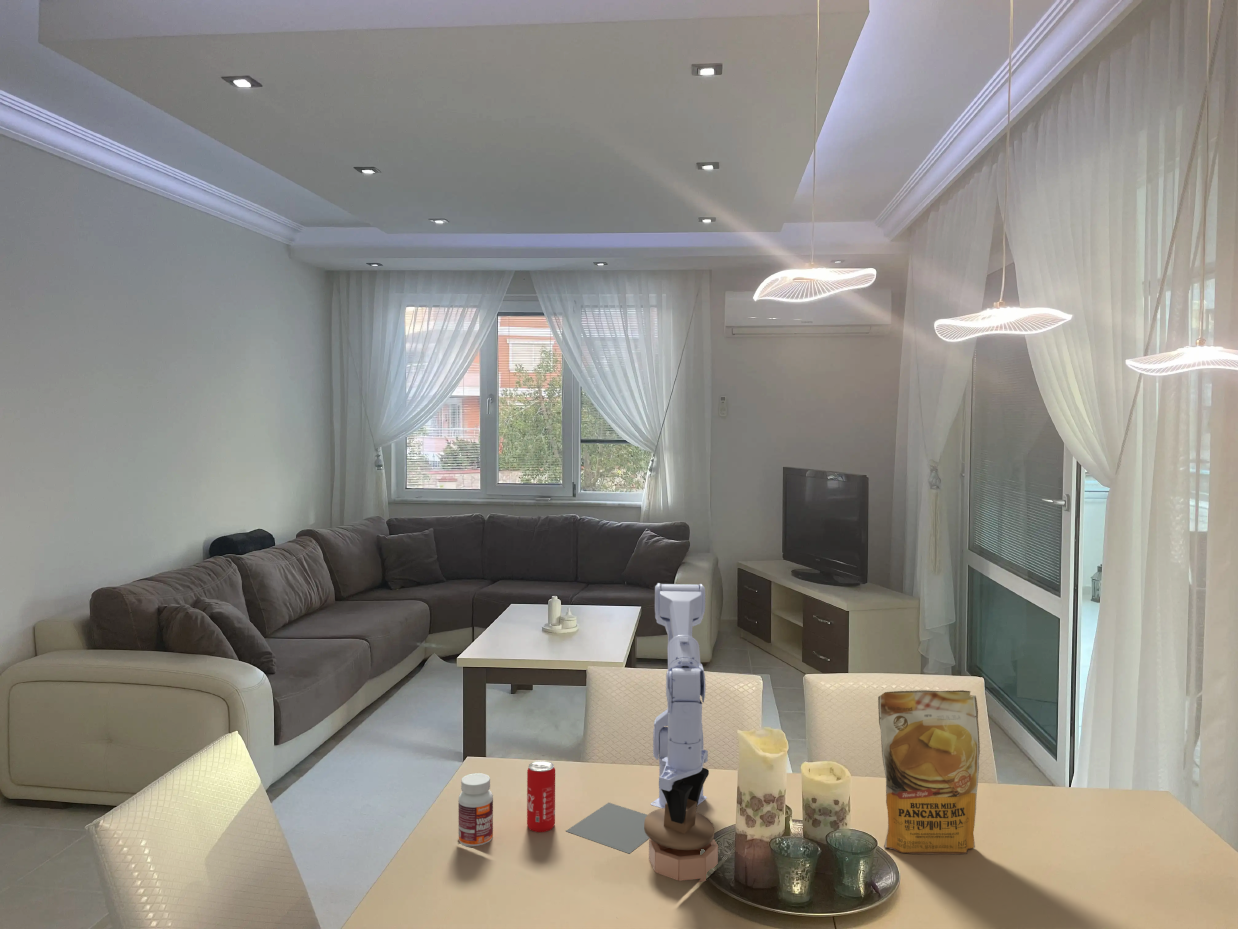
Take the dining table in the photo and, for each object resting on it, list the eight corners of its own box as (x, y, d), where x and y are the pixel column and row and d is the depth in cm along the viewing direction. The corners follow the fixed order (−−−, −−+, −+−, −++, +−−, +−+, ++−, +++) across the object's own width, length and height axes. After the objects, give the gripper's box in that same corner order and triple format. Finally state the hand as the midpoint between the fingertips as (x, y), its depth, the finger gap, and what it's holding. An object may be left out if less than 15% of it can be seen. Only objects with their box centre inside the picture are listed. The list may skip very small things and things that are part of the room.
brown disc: (664, 806, 150) (666, 779, 149) (725, 828, 144) (727, 800, 143) (631, 833, 140) (633, 805, 139) (694, 858, 133) (697, 828, 133)
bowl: (671, 842, 149) (671, 820, 149) (726, 860, 143) (726, 838, 143) (638, 869, 140) (638, 846, 140) (695, 890, 134) (696, 866, 134)
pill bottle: (481, 852, 145) (481, 789, 145) (451, 844, 148) (451, 782, 147) (499, 836, 151) (499, 775, 150) (470, 829, 153) (470, 769, 153)
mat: (608, 805, 163) (608, 802, 163) (669, 825, 156) (669, 822, 156) (565, 834, 152) (565, 831, 152) (629, 857, 144) (629, 853, 144)
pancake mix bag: (868, 836, 152) (872, 686, 151) (971, 836, 152) (976, 687, 151) (880, 855, 146) (884, 698, 144) (988, 855, 146) (993, 699, 144)
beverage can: (550, 837, 151) (550, 772, 150) (523, 834, 152) (523, 770, 151) (558, 823, 156) (558, 761, 155) (531, 820, 157) (532, 758, 156)
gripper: (683, 720, 149) (682, 794, 149) (643, 746, 136) (642, 827, 137) (719, 728, 145) (717, 804, 146) (681, 756, 133) (680, 838, 133)
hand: (683, 816), depth 141 cm, fingers closed on brown disc, 4 cm apart
